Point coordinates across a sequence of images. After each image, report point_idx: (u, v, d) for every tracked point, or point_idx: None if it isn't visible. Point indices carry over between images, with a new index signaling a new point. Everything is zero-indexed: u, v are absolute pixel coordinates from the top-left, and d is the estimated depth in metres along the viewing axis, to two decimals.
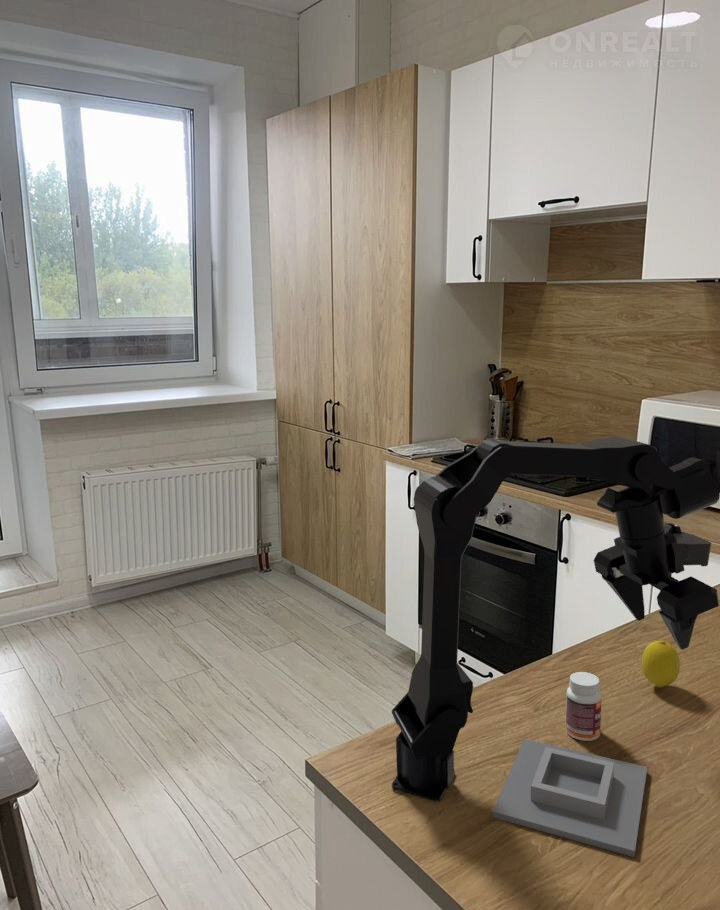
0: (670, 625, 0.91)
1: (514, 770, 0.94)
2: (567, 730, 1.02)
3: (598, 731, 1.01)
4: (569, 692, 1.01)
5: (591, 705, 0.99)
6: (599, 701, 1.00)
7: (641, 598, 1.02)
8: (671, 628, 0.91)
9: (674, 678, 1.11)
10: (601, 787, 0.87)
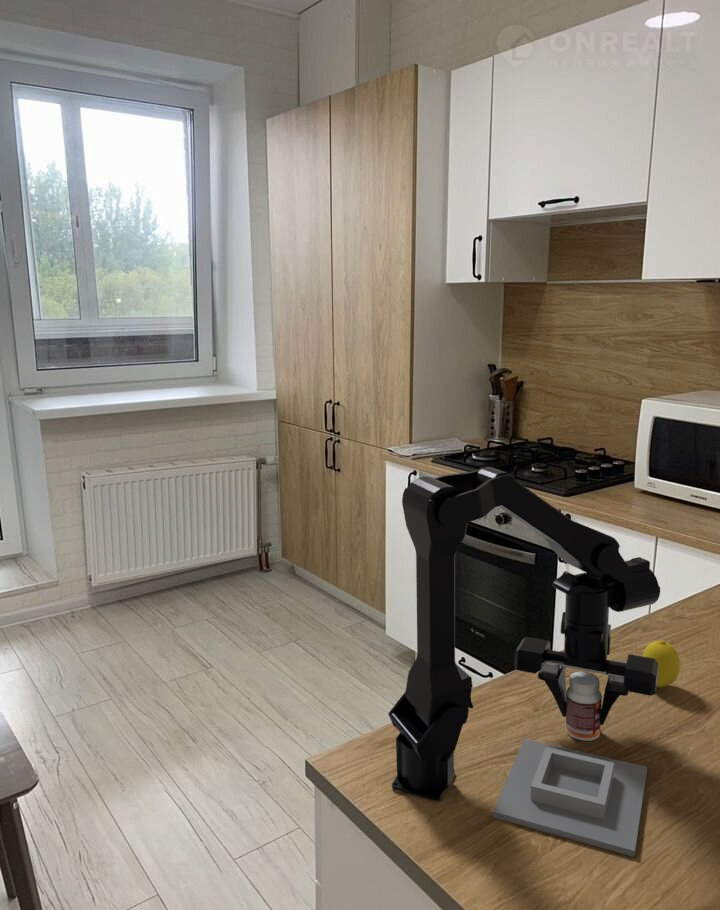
0: (613, 700, 0.97)
1: (514, 770, 0.94)
2: (567, 730, 1.02)
3: (598, 731, 1.01)
4: (569, 692, 1.01)
5: (591, 705, 0.99)
6: (599, 701, 1.00)
7: None
8: (611, 703, 0.98)
9: (674, 678, 1.11)
10: (601, 787, 0.87)
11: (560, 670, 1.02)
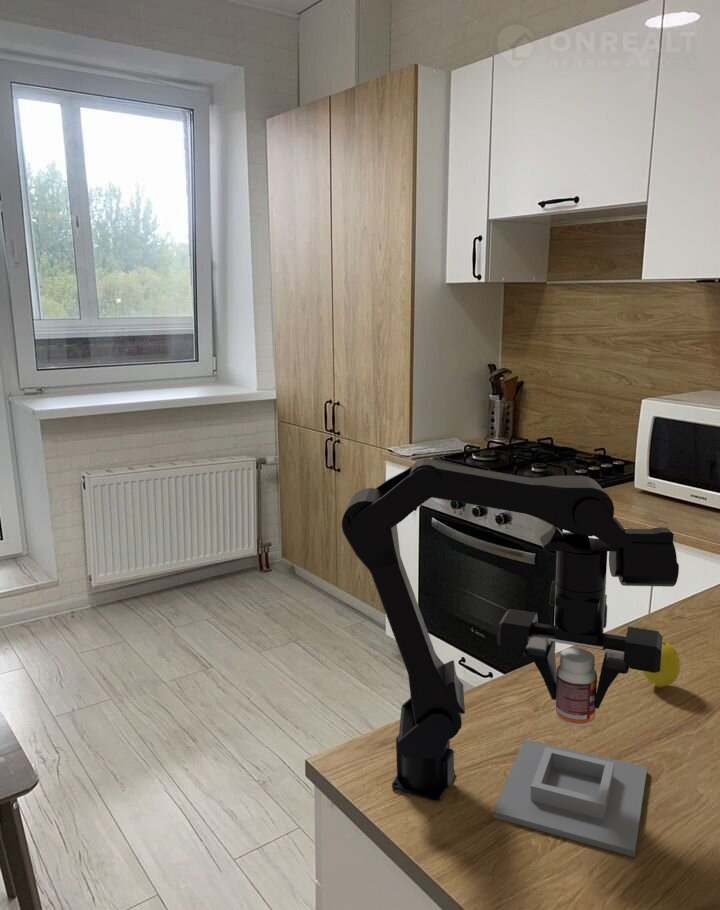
0: (611, 679, 0.84)
1: (514, 770, 0.94)
2: (557, 715, 0.89)
3: (593, 715, 0.88)
4: (560, 671, 0.88)
5: (585, 685, 0.86)
6: (594, 681, 0.87)
7: None
8: (608, 683, 0.84)
9: (674, 678, 1.11)
10: (601, 787, 0.87)
11: (549, 646, 0.89)
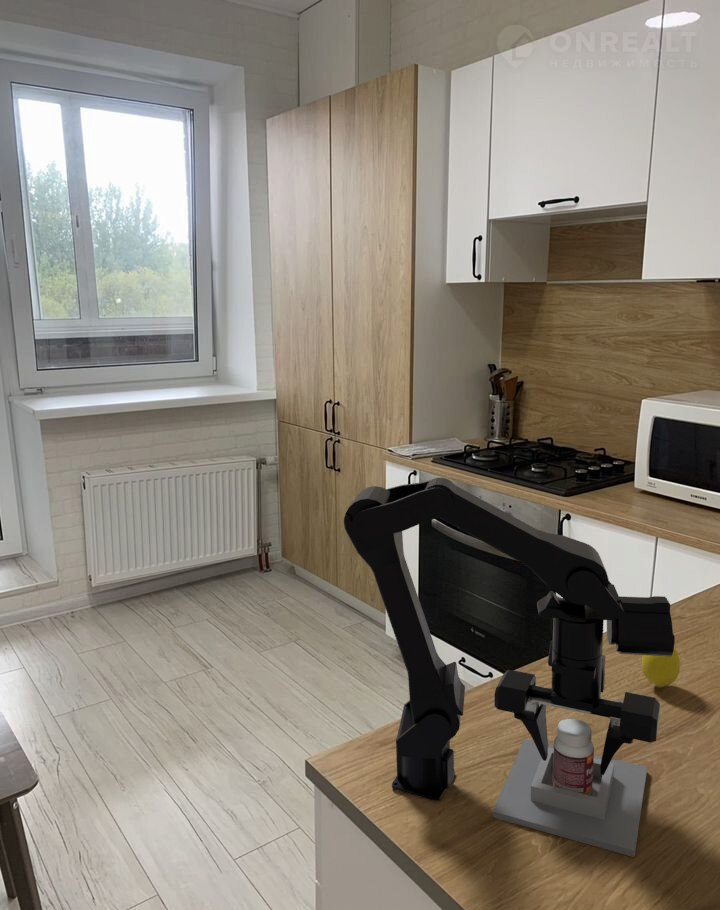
0: (616, 748, 0.84)
1: (514, 770, 0.94)
2: (554, 786, 0.89)
3: (590, 788, 0.88)
4: (556, 743, 0.88)
5: (582, 759, 0.86)
6: (591, 754, 0.87)
7: (546, 733, 0.91)
8: (613, 752, 0.84)
9: (674, 678, 1.11)
10: (601, 787, 0.87)
11: (540, 708, 0.90)
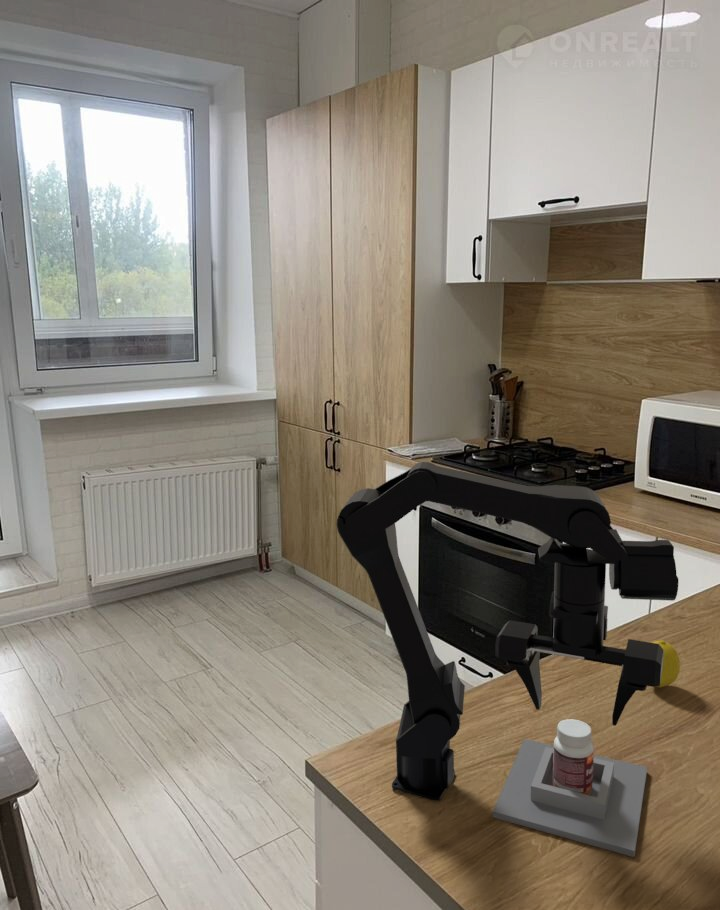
0: (628, 696, 0.82)
1: (514, 770, 0.94)
2: (554, 786, 0.89)
3: (590, 788, 0.88)
4: (556, 743, 0.88)
5: (582, 759, 0.86)
6: (591, 754, 0.87)
7: (540, 682, 0.90)
8: (626, 700, 0.82)
9: (674, 678, 1.11)
10: (601, 787, 0.87)
11: (533, 655, 0.89)
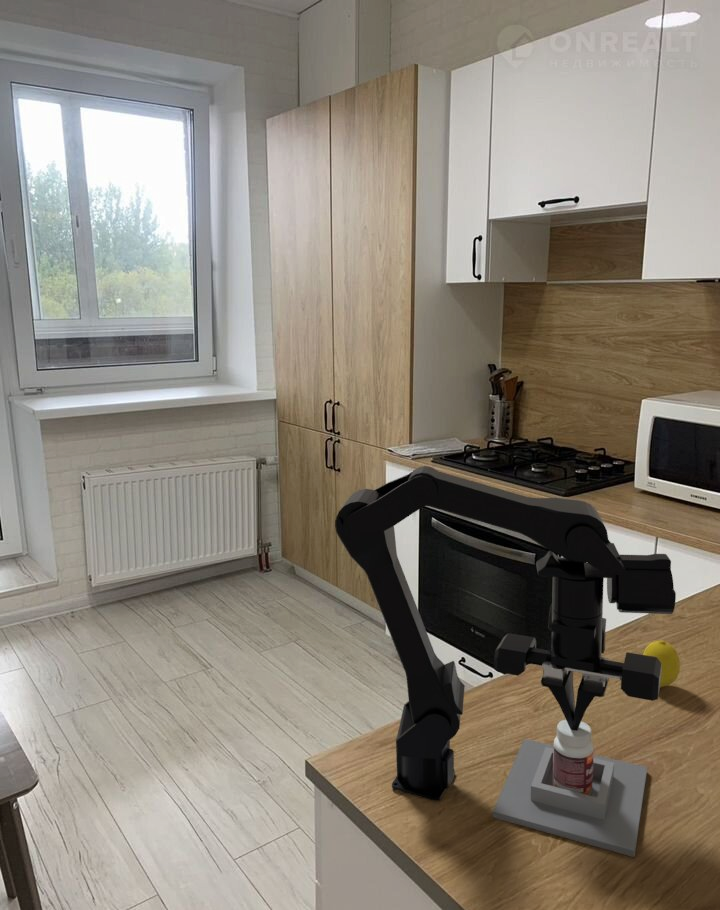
0: (588, 702, 0.84)
1: (514, 770, 0.94)
2: (554, 786, 0.89)
3: (590, 788, 0.88)
4: (556, 743, 0.88)
5: (581, 759, 0.86)
6: (591, 754, 0.87)
7: (574, 702, 0.88)
8: (585, 706, 0.85)
9: (674, 678, 1.11)
10: (601, 787, 0.87)
11: (567, 675, 0.87)
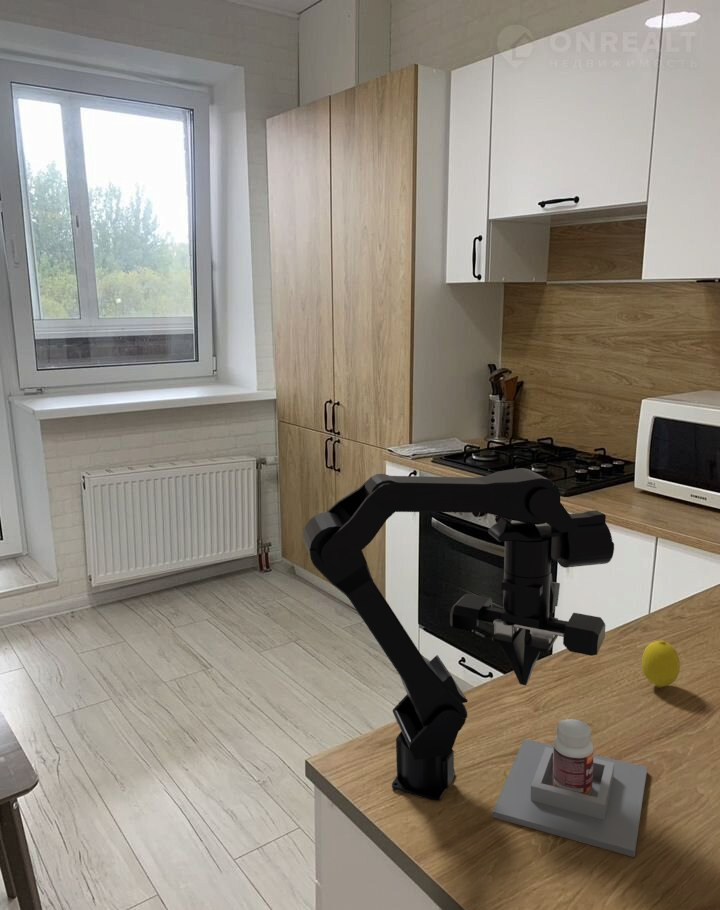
0: (534, 657, 0.90)
1: (514, 770, 0.94)
2: (554, 786, 0.89)
3: (590, 788, 0.88)
4: (556, 743, 0.88)
5: (581, 759, 0.86)
6: (591, 754, 0.87)
7: None
8: (532, 661, 0.90)
9: (674, 678, 1.11)
10: (601, 787, 0.87)
11: (518, 632, 0.93)
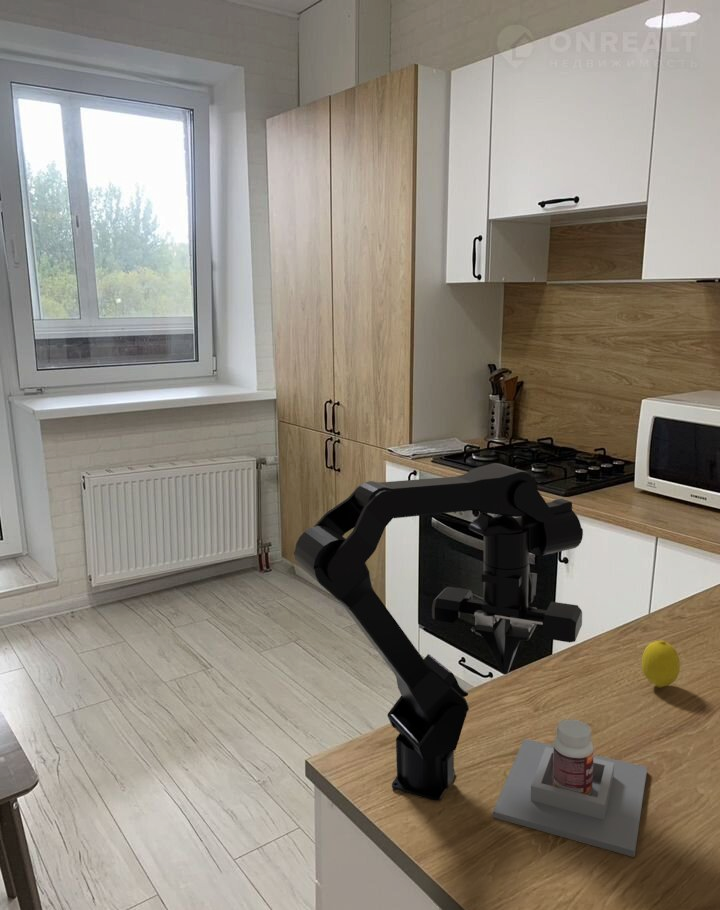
0: (514, 646, 0.92)
1: (514, 770, 0.94)
2: (554, 786, 0.89)
3: (590, 788, 0.88)
4: (556, 743, 0.88)
5: (581, 759, 0.86)
6: (591, 754, 0.87)
7: (505, 648, 0.96)
8: (513, 650, 0.93)
9: (674, 678, 1.11)
10: (601, 787, 0.87)
11: (498, 623, 0.95)
